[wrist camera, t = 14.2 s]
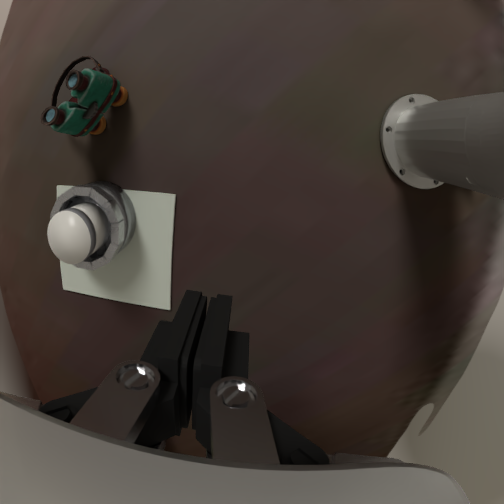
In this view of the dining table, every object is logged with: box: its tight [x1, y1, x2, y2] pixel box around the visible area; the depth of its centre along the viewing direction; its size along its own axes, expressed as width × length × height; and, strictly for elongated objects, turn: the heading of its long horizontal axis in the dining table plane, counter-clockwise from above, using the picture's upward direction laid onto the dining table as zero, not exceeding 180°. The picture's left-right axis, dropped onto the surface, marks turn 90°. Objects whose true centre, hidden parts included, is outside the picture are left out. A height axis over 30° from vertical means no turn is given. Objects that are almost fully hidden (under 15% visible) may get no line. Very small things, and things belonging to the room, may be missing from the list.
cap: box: [48, 202, 110, 264], centre depth 31 cm, size 6×6×5 cm
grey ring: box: [50, 181, 136, 270], centre depth 34 cm, size 10×10×6 cm
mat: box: [57, 185, 176, 310], centre depth 39 cm, size 18×16×1 cm
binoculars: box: [41, 56, 128, 137], centre depth 27 cm, size 9×11×10 cm
